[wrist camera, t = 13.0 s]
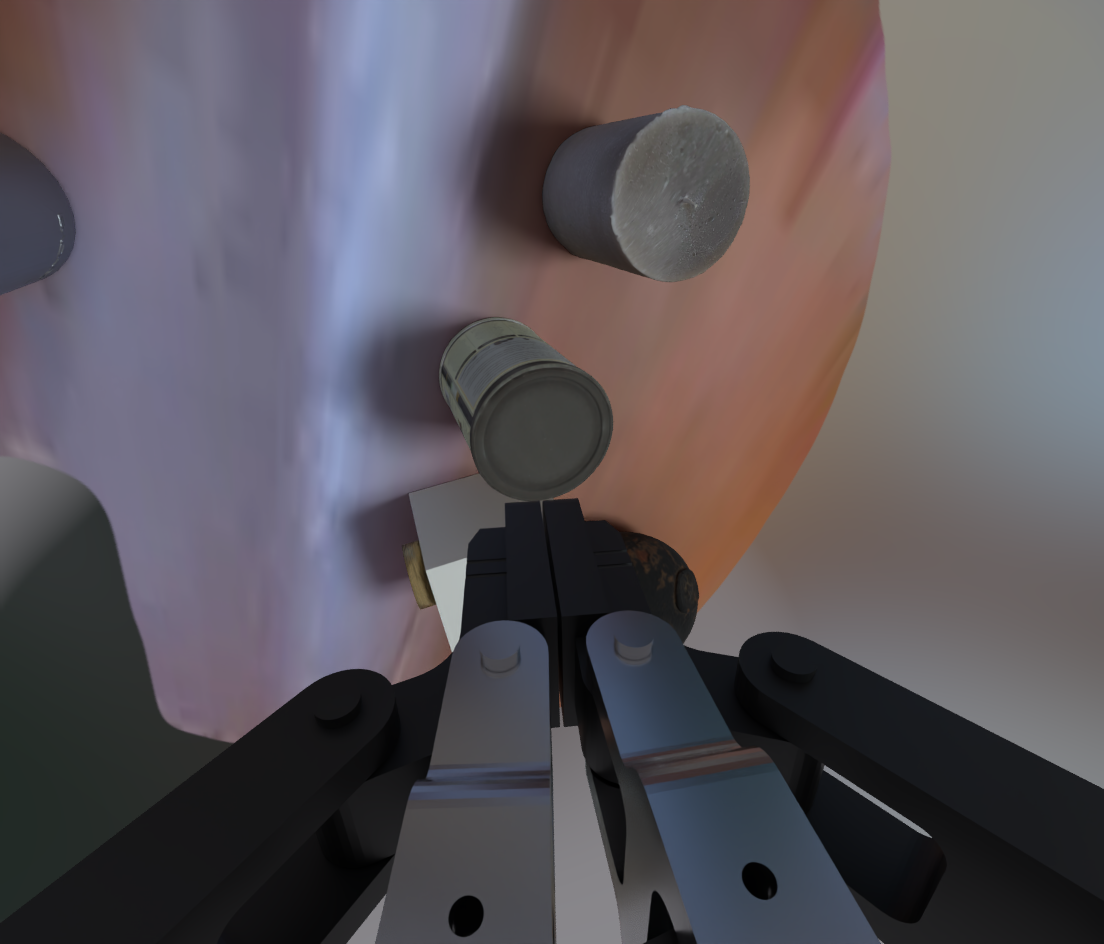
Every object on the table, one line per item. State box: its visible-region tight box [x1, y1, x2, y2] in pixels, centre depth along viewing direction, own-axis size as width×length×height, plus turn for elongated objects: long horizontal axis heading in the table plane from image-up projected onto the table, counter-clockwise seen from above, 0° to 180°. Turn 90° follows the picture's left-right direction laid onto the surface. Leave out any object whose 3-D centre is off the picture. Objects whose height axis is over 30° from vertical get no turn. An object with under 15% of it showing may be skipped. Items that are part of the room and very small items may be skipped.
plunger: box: [402, 540, 436, 610], centre depth 50 cm, size 12×6×6 cm, turn 97°
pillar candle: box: [542, 105, 750, 282], centre depth 38 cm, size 10×10×15 cm
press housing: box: [408, 473, 554, 652], centre depth 50 cm, size 12×10×12 cm
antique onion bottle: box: [620, 532, 699, 643], centre depth 53 cm, size 18×18×28 cm
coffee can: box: [439, 317, 613, 501], centre depth 43 cm, size 10×10×14 cm
